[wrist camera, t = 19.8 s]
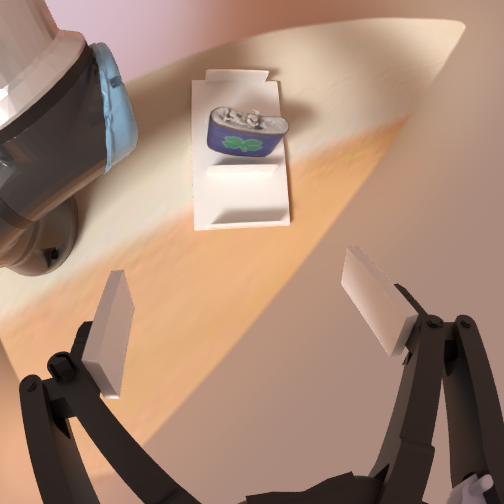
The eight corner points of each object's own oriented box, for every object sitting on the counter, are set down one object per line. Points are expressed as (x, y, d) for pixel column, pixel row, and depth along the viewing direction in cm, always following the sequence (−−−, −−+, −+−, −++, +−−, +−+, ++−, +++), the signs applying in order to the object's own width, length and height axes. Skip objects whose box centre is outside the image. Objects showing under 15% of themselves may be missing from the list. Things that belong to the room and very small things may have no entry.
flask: (272, 142, 41) (295, 111, 30) (270, 161, 41) (293, 135, 30) (207, 133, 39) (211, 97, 29) (204, 152, 39) (207, 121, 29)
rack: (194, 230, 40) (194, 228, 36) (191, 84, 40) (191, 69, 36) (287, 225, 43) (297, 223, 38) (275, 85, 42) (282, 71, 38)
